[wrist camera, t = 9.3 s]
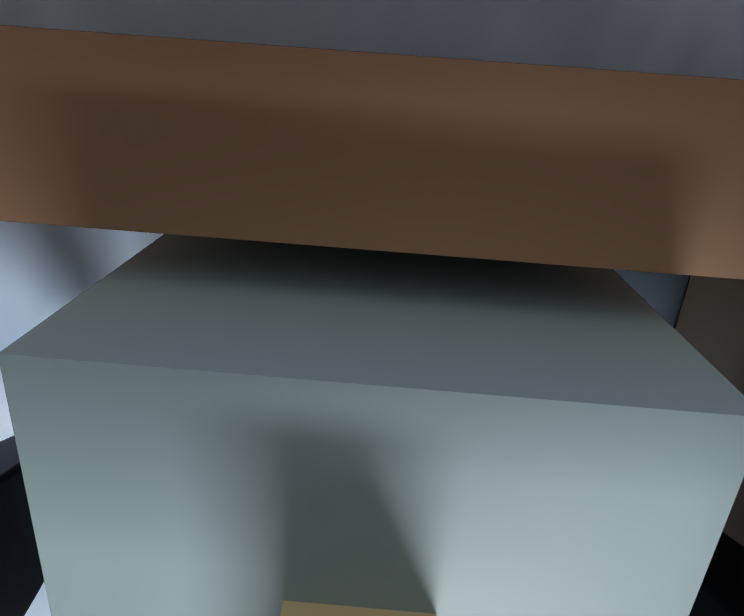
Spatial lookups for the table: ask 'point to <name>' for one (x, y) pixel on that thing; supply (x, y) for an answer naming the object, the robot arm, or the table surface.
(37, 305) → the table surface
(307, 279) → the cabinet
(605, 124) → the cleat board
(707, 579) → the robot arm
